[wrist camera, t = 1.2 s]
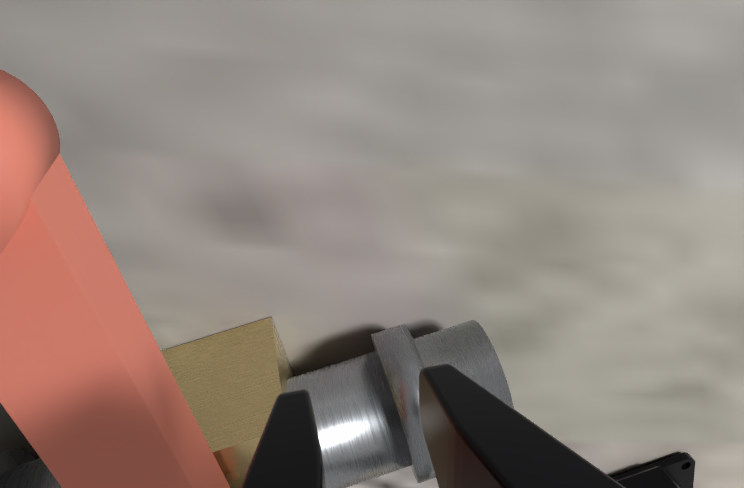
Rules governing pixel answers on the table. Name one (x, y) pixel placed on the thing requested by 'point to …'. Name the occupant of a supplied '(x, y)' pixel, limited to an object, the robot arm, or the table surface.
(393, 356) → the pipe valve
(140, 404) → the lever
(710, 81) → the table surface
